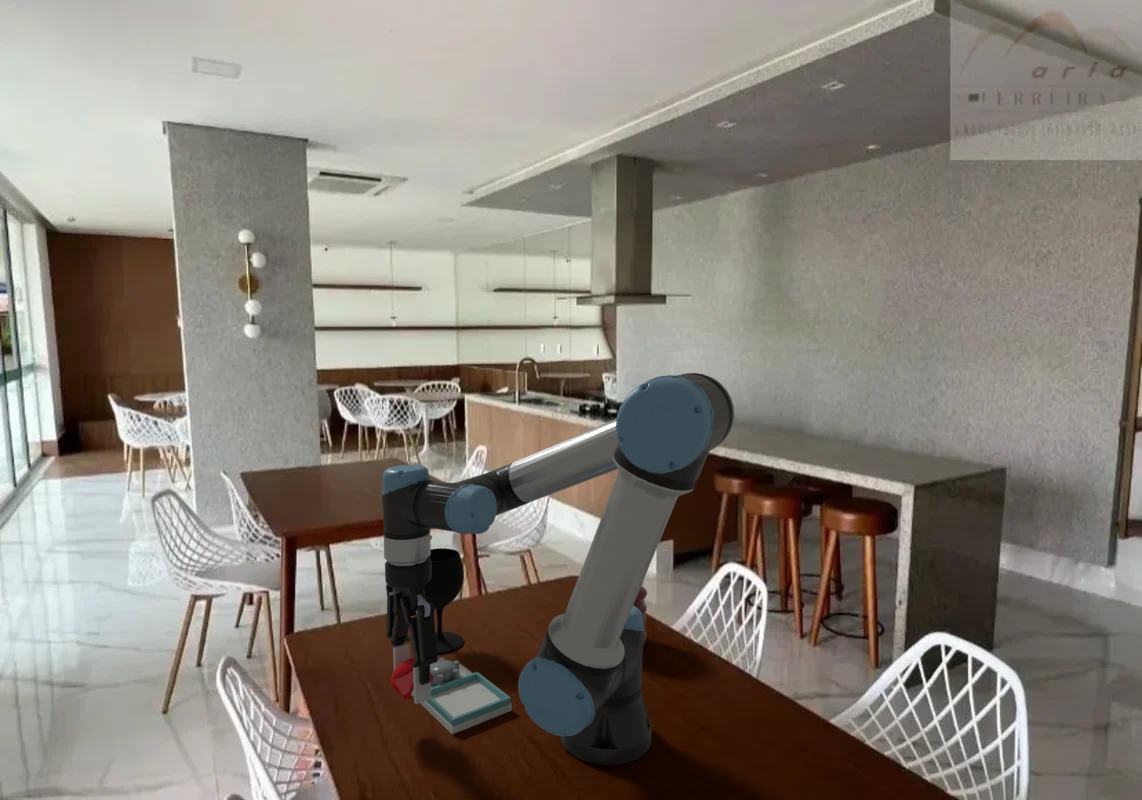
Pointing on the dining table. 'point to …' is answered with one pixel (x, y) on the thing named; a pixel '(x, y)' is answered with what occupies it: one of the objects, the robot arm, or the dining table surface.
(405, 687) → the cap
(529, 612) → the dining table surface
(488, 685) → the carrier board
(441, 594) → the wine glass
